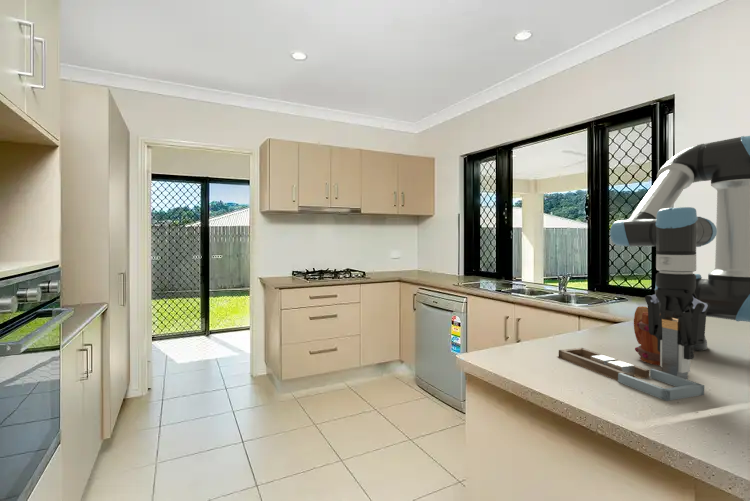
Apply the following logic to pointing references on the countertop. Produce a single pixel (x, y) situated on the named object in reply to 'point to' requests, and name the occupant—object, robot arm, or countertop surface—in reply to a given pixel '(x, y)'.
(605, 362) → the chip
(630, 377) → the tray
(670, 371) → the grey and tan block
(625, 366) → the chip
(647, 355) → the mug
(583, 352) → the slot board
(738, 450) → the countertop surface
